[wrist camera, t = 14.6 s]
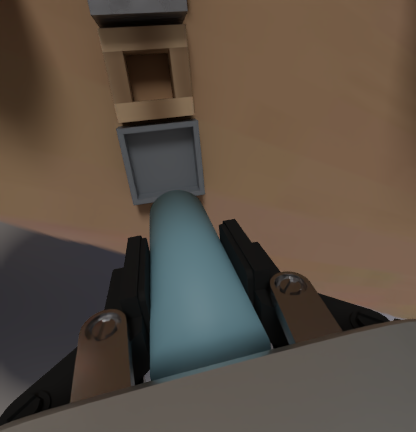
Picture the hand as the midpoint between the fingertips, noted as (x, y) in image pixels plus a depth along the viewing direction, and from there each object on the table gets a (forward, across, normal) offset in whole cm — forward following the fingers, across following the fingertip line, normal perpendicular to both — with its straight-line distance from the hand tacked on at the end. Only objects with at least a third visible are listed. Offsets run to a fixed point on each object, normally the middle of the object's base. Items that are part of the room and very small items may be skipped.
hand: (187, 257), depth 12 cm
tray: (+22, 0, 0) cm, 22 cm away
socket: (+22, 0, -9) cm, 24 cm away
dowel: (+5, 0, 0) cm, 5 cm away
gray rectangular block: (+22, 0, -15) cm, 27 cm away
